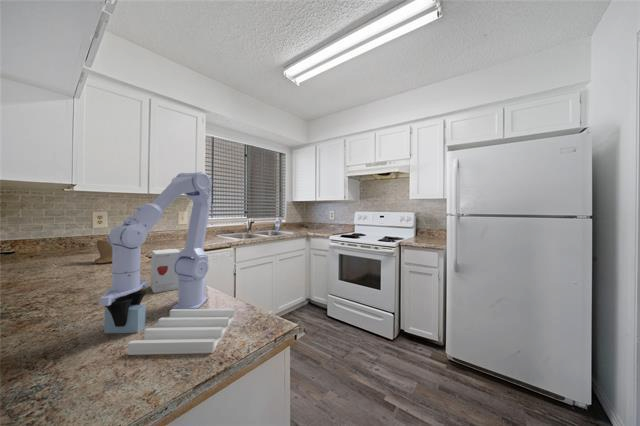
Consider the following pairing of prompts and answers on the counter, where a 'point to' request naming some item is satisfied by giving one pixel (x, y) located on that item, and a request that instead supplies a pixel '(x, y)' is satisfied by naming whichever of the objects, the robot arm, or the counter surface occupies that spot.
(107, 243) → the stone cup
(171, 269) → the supplement box
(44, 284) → the counter surface
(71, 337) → the counter surface
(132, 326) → the blue block
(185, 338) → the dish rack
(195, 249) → the robot arm
